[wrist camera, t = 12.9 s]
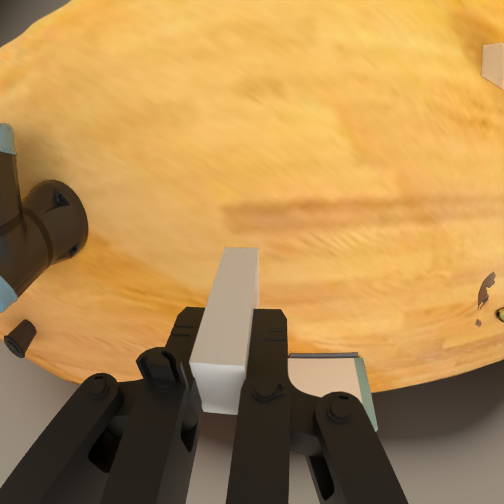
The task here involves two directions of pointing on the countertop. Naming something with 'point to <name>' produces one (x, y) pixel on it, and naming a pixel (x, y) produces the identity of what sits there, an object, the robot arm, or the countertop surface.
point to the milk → (493, 63)
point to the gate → (333, 379)
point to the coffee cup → (20, 338)
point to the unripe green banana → (483, 296)
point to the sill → (324, 355)
